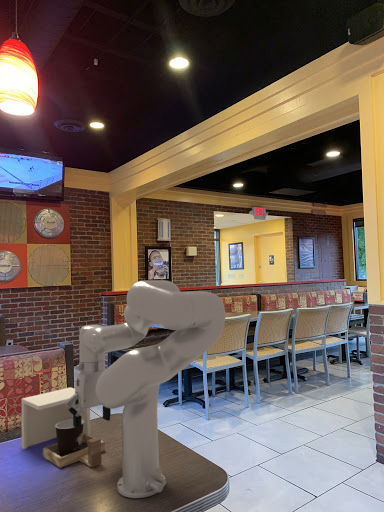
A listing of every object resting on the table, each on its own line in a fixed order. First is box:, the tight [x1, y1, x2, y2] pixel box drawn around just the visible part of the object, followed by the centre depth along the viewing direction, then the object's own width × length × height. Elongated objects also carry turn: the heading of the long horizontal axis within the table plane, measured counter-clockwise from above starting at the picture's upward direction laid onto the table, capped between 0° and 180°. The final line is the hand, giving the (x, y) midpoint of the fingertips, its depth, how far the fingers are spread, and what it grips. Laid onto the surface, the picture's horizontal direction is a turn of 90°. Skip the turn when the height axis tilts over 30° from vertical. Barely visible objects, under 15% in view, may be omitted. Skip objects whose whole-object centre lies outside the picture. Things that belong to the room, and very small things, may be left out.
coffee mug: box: [55, 419, 84, 457], centre depth 119 cm, size 12×9×10 cm
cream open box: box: [21, 387, 91, 450], centre depth 128 cm, size 14×18×16 cm
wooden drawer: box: [42, 434, 106, 468], centre depth 116 cm, size 20×15×7 cm
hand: (92, 424), depth 112 cm, fingers open, 9 cm apart
